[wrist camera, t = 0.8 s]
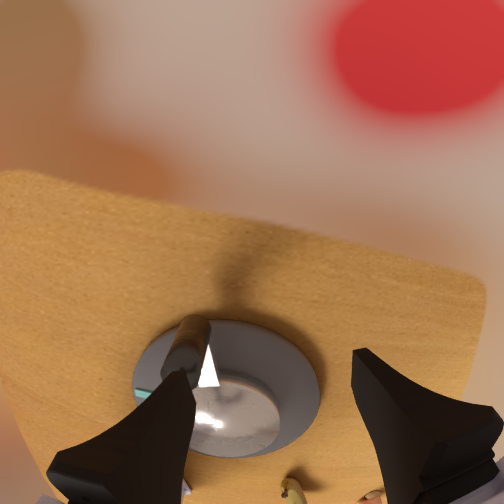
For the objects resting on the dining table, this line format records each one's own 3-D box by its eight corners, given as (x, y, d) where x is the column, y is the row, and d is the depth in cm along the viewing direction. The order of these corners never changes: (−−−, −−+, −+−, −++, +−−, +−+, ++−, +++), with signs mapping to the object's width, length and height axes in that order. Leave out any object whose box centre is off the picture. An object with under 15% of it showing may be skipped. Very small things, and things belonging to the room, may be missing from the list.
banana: (309, 497, 30) (312, 520, 26) (292, 501, 30) (294, 523, 26) (293, 466, 27) (296, 494, 23) (272, 470, 27) (274, 498, 24)
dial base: (317, 441, 26) (319, 450, 24) (167, 448, 26) (164, 458, 25) (315, 306, 21) (318, 315, 20) (112, 325, 22) (105, 334, 21)
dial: (282, 436, 23) (287, 494, 17) (186, 441, 24) (175, 495, 18) (264, 296, 20) (268, 354, 13) (136, 309, 20) (97, 361, 14)
